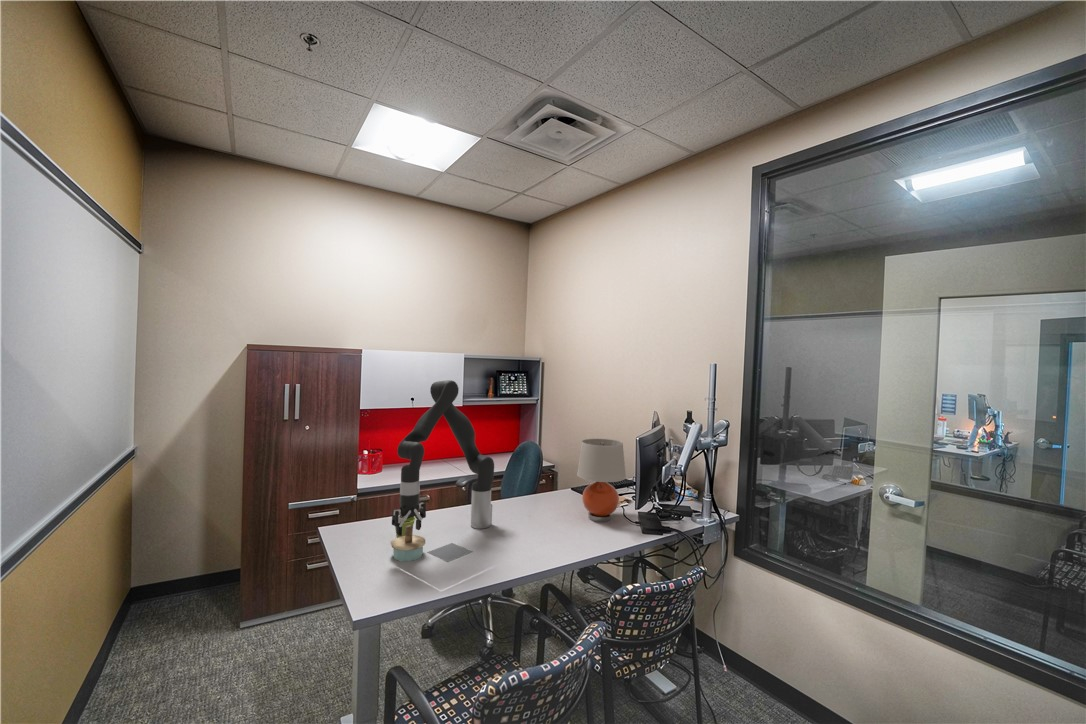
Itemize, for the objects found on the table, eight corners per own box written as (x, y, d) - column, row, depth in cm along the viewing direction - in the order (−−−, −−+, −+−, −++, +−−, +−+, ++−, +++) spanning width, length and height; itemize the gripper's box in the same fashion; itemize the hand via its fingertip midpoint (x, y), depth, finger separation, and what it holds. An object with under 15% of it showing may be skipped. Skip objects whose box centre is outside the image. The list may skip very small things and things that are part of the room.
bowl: (411, 548, 190) (411, 536, 190) (427, 555, 183) (428, 543, 183) (387, 556, 181) (388, 543, 181) (404, 565, 174) (404, 551, 174)
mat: (452, 544, 195) (452, 542, 195) (472, 553, 187) (472, 551, 187) (426, 553, 185) (426, 552, 185) (447, 563, 177) (447, 561, 177)
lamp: (565, 516, 234) (568, 440, 234) (597, 506, 251) (599, 436, 251) (602, 530, 216) (605, 448, 216) (634, 519, 233) (636, 443, 232)
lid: (412, 534, 191) (413, 518, 191) (432, 543, 183) (432, 526, 183) (384, 543, 181) (385, 526, 181) (403, 553, 173) (404, 535, 173)
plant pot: (392, 544, 193) (392, 523, 193) (393, 535, 202) (393, 516, 202) (415, 542, 196) (415, 522, 196) (415, 534, 205) (415, 514, 205)
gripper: (419, 486, 190) (418, 525, 190) (388, 493, 179) (387, 535, 179) (430, 490, 185) (429, 530, 185) (399, 497, 174) (398, 540, 174)
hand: (408, 532), depth 182 cm, fingers open, 8 cm apart
